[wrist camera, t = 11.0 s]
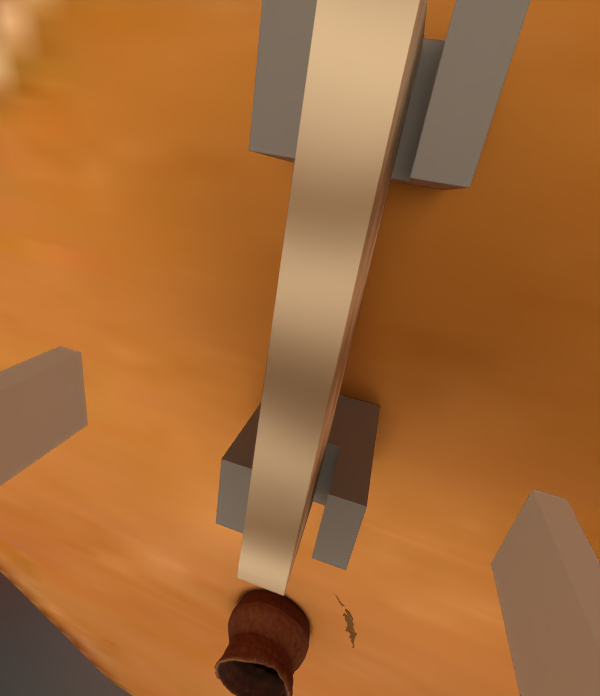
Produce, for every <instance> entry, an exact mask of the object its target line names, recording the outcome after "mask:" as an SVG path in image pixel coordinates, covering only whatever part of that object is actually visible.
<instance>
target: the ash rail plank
mask: <svg viewBox="0 0 600 696" xmlns="http://www.w3.org/2000/svg"><path fill="white" fill-rule="evenodd" d="M426 9H427V0H317V5H316V12H315V19H314V27H313V34H312V41H311V48H310V56H309V63H308V70H307V77H306V84H305V92H304V99H303V106H302V113H301V120H300V128H299V135H298V142H297V149H296V156H295V164H294V171H293V178H292V185H291V193H290V200H289V207H288V214H287V221H286V229H285V236H284V243H283V250H282V257H281V265H280V272H279V279H278V286H277V293H276V301H275V308H274V315H273V322H272V330H271V337H270V344H269V351H268V358H267V366H266V373H265V380H264V387H263V394H262V402H261V409H260V416H259V423H258V430H257V438H256V445H255V452H254V459H253V467H252V474H251V481H250V488H249V495H248V503H247V510H246V517H245V524H244V531H243V539H242V546H241V553H240V560H239V567H238V575H237V578H239V579H241V580H244V581H247V582H249V583H252V584H254V585H257V586H260V587H262V588H265V589H267V590H270V591H273V592H275V593H278V594H280V595H283V596H284V593H285V590H286V587H287V583H288V580H289V577H290V574H291V570H292V567H293V564H294V561H295V557H296V554H297V551H298V548H299V544H300V541H301V538H302V535H303V531H304V528H305V525H306V522H307V518H308V515H309V512H310V509H311V505H312V502H313V499H314V496H315V492H316V488H317V484H318V480H319V476H320V471H321V467H322V463H323V459H324V455H325V451H326V446H327V442H328V438H329V434H330V430H331V426H332V422H333V417H334V413H335V409H336V405H337V401H338V397H339V393H340V388H341V384H342V380H343V376H344V372H345V368H346V364H347V359H348V355H349V351H350V347H351V343H352V339H353V334H354V330H355V326H356V322H357V318H358V314H359V310H360V305H361V301H362V297H363V293H364V289H365V285H366V281H367V276H368V272H369V268H370V264H371V260H372V256H373V252H374V247H375V243H376V239H377V235H378V231H379V227H380V222H381V218H382V214H383V210H384V206H385V202H386V198H387V193H388V189H389V185H390V181H391V177H392V173H393V169H394V164H395V160H396V156H397V152H398V148H399V144H400V140H401V135H402V131H403V127H404V123H405V119H406V115H407V110H408V106H409V102H410V98H411V94H412V90H413V86H414V81H415V77H416V73H417V69H418V65H419V61H420V57H421V52H422V48H423V38H424V28H425V19H426Z"/></svg>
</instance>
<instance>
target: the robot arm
mask: <svg viewBox="0 0 600 696" xmlns="http://www.w3.org/2000/svg"><path fill="white" fill-rule="evenodd" d="M87 425H88V423H87V412H86V401H85V390H84V379H83V368H82V358H81V352H78V351H75V350H72V349H68V348H65V347H62V346H60V347H57V348H55V349H52V350H50V351H48V352H45V353H43V354H41V355H38V356H36V357H33V358H31V359H29V360H26V361H24V362H22V363H19V364H17V365H14V366H12V367H10V368H7V369H5V370H3V371H0V486H1V485H2V484H4V483H5V482H7V481H8V480H10V479H11V478H12V477H14V476H15V475H17V474H18V473H20V472H21V471H22V470H24V469H25V468H27V467H28V466H30V465H31V464H32V463H34V462H35V461H37V460H38V459H40V458H41V457H42V456H44V455H45V454H47V453H48V452H50V451H51V450H52V449H54V448H55V447H57V446H58V445H60V444H61V443H62V442H64V441H65V440H67V439H68V438H70V437H71V436H72V435H74V434H75V433H77V432H78V431H80V430H81V429H82V428H84V427H85V426H87ZM491 565H492V570H493V574H494V579H495V583H496V588H497V592H498V597H499V602H500V606H501V611H502V615H503V620H504V625H505V629H506V634H507V638H508V643H509V648H510V652H511V657H512V661H513V666H514V670H515V675H516V680H517V684H518V689H519V693H520V696H600V563H599V561H598V559H597V557H596V555H595V553H594V551H593V549H592V547H591V545H590V543H589V541H588V539H587V537H586V536H585V534H584V532H583V530H582V528H581V526H580V524H579V522H578V520H577V518H576V516H575V514H574V512H573V510H572V508H571V506H570V505H569V503H568V501H567V499H565V498H561V497H558V496H555V495H551V494H548V493H545V492H541V491H538V490H535V489H533V490H532V491H531V493H530V495H529V497H528V498H527V500H526V502H525V504H524V506H523V507H522V509H521V511H520V513H519V515H518V516H517V518H516V520H515V522H514V523H513V525H512V527H511V529H510V531H509V532H508V534H507V536H506V538H505V540H504V541H503V543H502V545H501V547H500V549H499V550H498V552H497V554H496V556H495V557H494V559H493V561H492V563H491Z"/></svg>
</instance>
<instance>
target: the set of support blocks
mask: <svg viewBox="0 0 600 696" xmlns="http://www.w3.org/2000/svg"><path fill="white" fill-rule="evenodd" d="M529 3H530V0H456V2H455V6H454V10H453V14H452V18H451V21H450V25H449V29H448V33H447V37H446V41H443V40H434V39H424V38H423V48H422V52H421V57H420V61H419V65H418V69H417V73H416V77H415V81H414V86H413V90H412V94H411V98H410V102H409V106H408V110H407V115H406V119H405V123H404V127H403V131H402V135H401V140H400V144H399V148H398V152H397V156H396V160H395V164H394V169H393V173H392V177H391V181H395V182H401V183H407V184H412V185H418V186H424V187H430V188H436V189H442V190H449V189H461V188H470V185H471V182H472V179H473V176H474V173H475V170H476V167H477V164H478V161H479V157H480V154H481V151H482V148H483V145H484V142H485V139H486V136H487V133H488V130H489V127H490V123H491V120H492V117H493V114H494V111H495V108H496V105H497V102H498V99H499V96H500V93H501V89H502V86H503V83H504V80H505V77H506V74H507V71H508V68H509V65H510V62H511V59H512V55H513V52H514V49H515V46H516V43H517V40H518V37H519V34H520V31H521V28H522V25H523V21H524V18H525V15H526V12H527V9H528V6H529ZM316 5H317V0H262V11H261V22H260V33H259V44H258V56H257V67H256V78H255V89H254V100H253V112H252V123H251V134H250V145H249V151H252V152H256V153H260V154H264V155H267V156H271V157H275V158H279V159H282V160H286V161H290V162H294V163H295V156H296V149H297V142H298V135H299V128H300V120H301V113H302V106H303V99H304V92H305V84H306V77H307V70H308V63H309V56H310V48H311V41H312V34H313V27H314V19H315V12H316ZM379 408H380V406H379V405H375V404H372V403H368V402H365V401H361V400H357V399H354V398H350V397H347V396H343V395H339V397H338V401H337V405H336V409H335V413H334V417H333V422H332V426H331V430H330V434H329V438H328V442H327V446H326V451H325V455H324V459H323V463H322V467H321V471H320V476H319V480H318V484H317V488H316V492H315V496H314V499H313V502H316V503H319V504H323V505H325V509H324V513H323V517H322V521H321V524H320V528H319V532H318V536H317V540H316V544H315V548H314V552H313V555H312V558H313V559H316V560H319V561H322V562H324V563H327V564H330V565H333V566H335V567H338V568H341V569H344V570H346V569H347V565H348V562H349V559H350V556H351V553H352V550H353V547H354V544H355V541H356V538H357V535H358V531H359V528H360V525H361V522H362V519H363V516H364V513H365V510H366V507H367V499H368V492H369V484H370V477H371V469H372V461H373V454H374V446H375V439H376V431H377V423H378V416H379ZM260 409H261V403H260V405H259V406H258V408H257V409H256V411H255V412H254V413H253V415H252V416H251V418H250V419H249V421H248V422H247V423H246V425H245V426H244V428H243V429H242V431H241V432H240V433H239V435H238V436H237V438H236V439H235V441H234V442H233V443H232V445H231V446H230V448H229V449H228V451H227V452H226V453H225V455H224V456H223V458H222V459H221V471H220V482H219V493H218V504H217V516H216V524H219V525H222V526H224V527H227V528H230V529H233V530H236V531H238V532H241V533H243V531H244V524H245V517H246V510H247V503H248V495H249V488H250V481H251V474H252V467H253V459H254V452H255V445H256V438H257V430H258V423H259V416H260Z"/></svg>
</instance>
